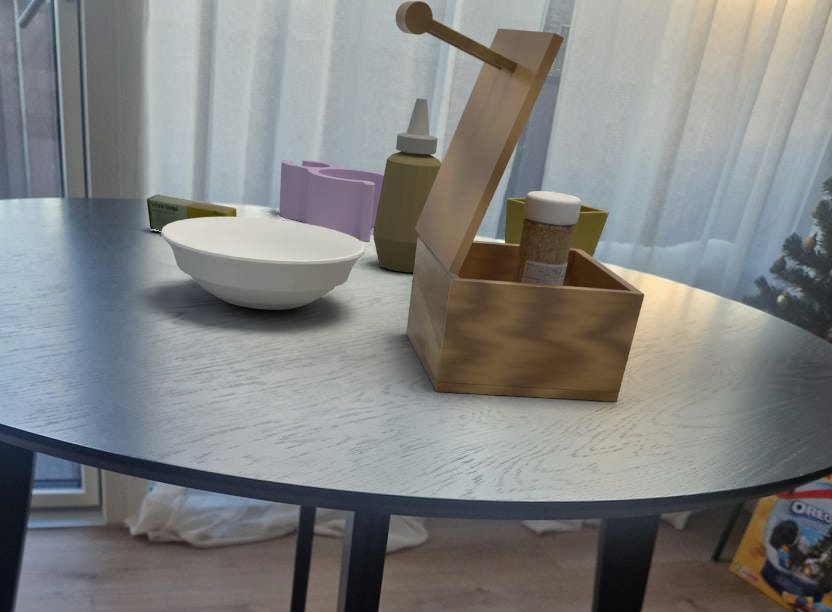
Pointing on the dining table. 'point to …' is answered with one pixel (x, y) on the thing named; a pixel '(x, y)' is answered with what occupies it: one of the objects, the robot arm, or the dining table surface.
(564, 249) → the sprinkles bottle
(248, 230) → the bowl
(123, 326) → the dining table surface
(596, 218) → the flower pot
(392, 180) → the squeeze bottle
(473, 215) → the chest lid
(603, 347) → the chest
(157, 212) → the medication box
